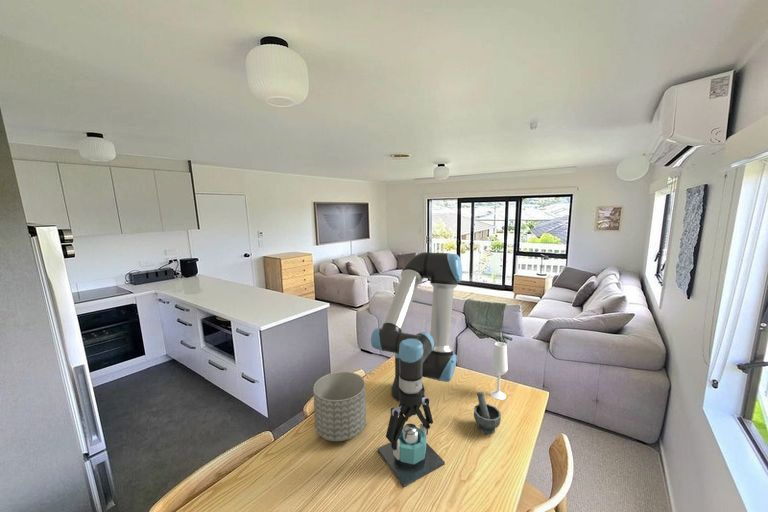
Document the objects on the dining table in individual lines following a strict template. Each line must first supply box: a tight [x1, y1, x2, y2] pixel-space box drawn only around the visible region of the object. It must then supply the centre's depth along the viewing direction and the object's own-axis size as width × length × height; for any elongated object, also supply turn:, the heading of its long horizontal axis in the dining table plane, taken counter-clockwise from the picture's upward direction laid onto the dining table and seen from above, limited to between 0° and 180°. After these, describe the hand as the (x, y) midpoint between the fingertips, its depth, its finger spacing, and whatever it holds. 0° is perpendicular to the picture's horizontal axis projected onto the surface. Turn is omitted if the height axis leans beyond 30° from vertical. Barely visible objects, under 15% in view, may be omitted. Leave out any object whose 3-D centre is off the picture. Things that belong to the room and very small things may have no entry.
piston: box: [377, 423, 446, 488], centre depth 97 cm, size 16×16×11 cm
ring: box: [398, 427, 427, 464], centre depth 97 cm, size 10×10×5 cm
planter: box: [313, 371, 367, 442], centre depth 110 cm, size 19×19×18 cm
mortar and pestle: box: [473, 391, 502, 435], centre depth 111 cm, size 11×9×12 cm
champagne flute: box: [490, 341, 509, 401], centre depth 130 cm, size 7×7×24 cm
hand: (410, 450), depth 97 cm, fingers closed on ring, 10 cm apart
